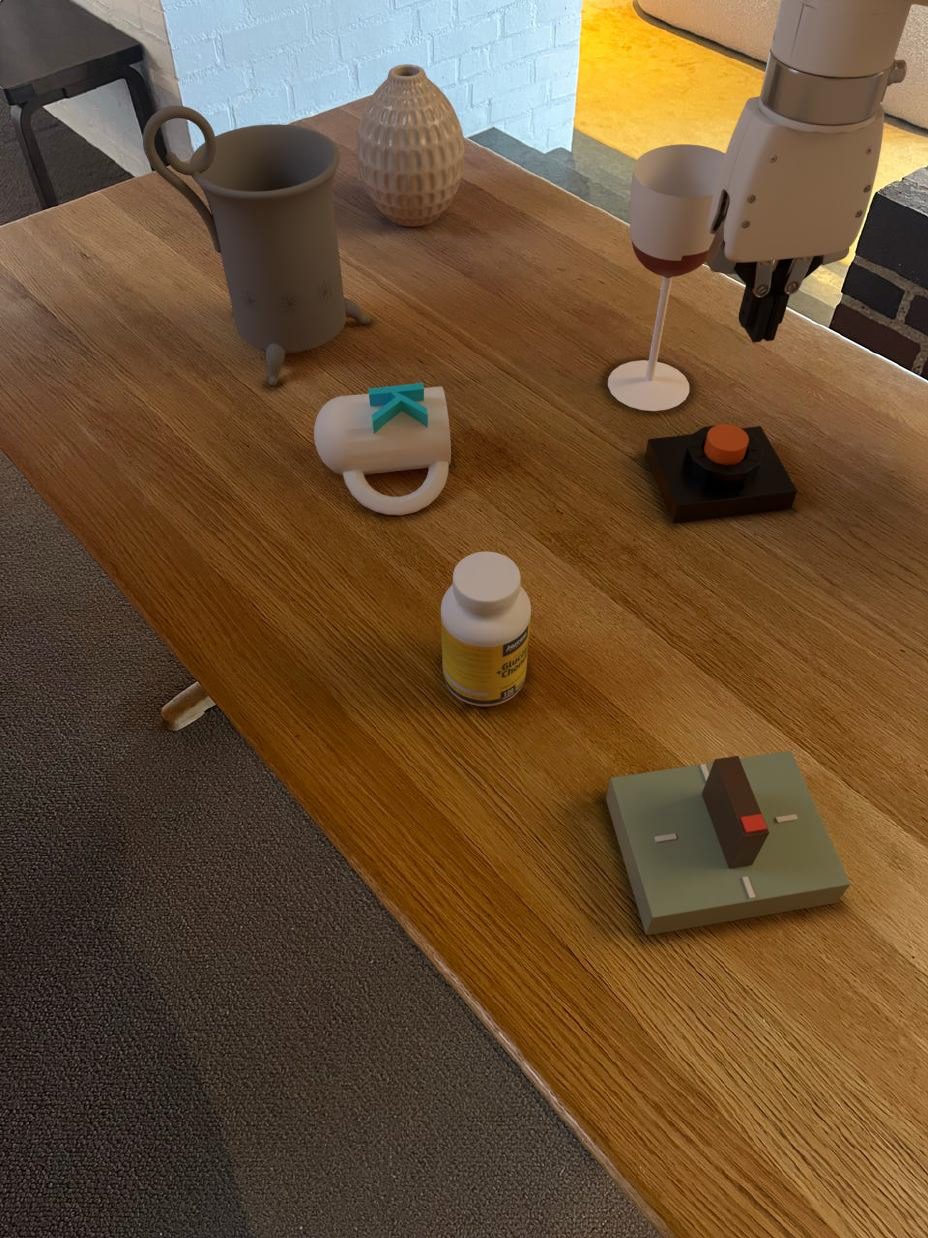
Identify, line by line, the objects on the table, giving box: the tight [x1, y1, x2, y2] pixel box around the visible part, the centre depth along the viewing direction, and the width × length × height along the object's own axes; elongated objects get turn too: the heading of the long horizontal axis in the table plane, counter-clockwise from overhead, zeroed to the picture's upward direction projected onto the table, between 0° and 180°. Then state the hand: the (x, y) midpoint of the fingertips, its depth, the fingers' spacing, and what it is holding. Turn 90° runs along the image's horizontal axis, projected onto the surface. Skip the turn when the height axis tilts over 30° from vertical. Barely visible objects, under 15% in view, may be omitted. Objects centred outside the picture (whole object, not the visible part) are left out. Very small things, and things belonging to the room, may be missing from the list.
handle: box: [702, 755, 769, 869], centre depth 61 cm, size 6×2×5 cm, turn 9°
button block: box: [644, 424, 798, 524], centre depth 87 cm, size 11×9×4 cm
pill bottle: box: [440, 551, 532, 707], centre depth 70 cm, size 6×6×12 cm
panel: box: [605, 750, 851, 936], centre depth 64 cm, size 13×10×3 cm
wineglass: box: [607, 143, 726, 412], centre depth 89 cm, size 9×10×22 cm
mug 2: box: [313, 382, 452, 516], centre depth 86 cm, size 12×9×12 cm
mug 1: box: [142, 105, 371, 387], centre depth 93 cm, size 19×15×25 cm
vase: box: [355, 63, 466, 228], centre depth 113 cm, size 13×13×17 cm
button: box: [704, 423, 749, 465], centre depth 85 cm, size 4×4×2 cm
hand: (756, 331), depth 76 cm, fingers closed
